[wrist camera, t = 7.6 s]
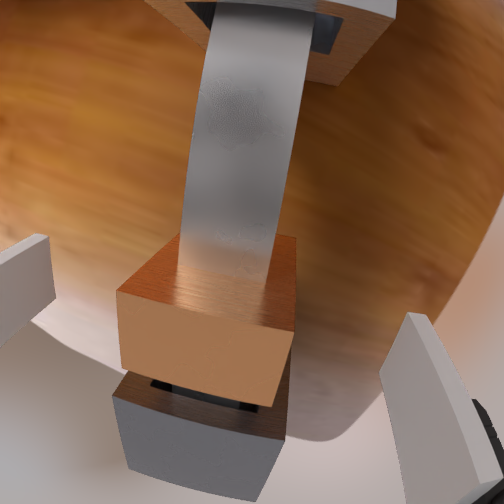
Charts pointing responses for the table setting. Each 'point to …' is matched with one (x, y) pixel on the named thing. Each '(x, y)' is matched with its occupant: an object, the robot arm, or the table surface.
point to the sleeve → (323, 37)
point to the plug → (228, 223)
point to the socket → (200, 437)
